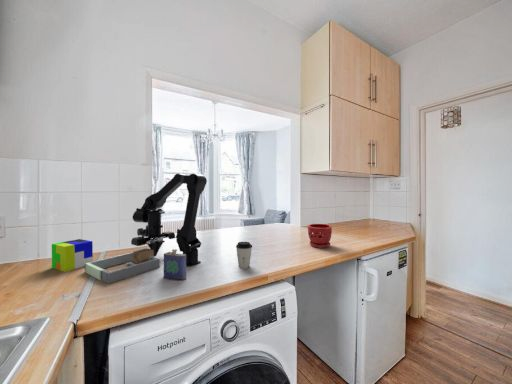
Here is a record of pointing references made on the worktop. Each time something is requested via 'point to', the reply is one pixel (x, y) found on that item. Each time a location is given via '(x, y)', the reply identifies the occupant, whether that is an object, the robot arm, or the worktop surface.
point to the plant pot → (319, 235)
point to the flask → (174, 266)
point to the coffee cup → (244, 254)
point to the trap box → (129, 270)
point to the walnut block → (142, 255)
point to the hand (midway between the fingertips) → (154, 256)
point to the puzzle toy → (71, 254)
